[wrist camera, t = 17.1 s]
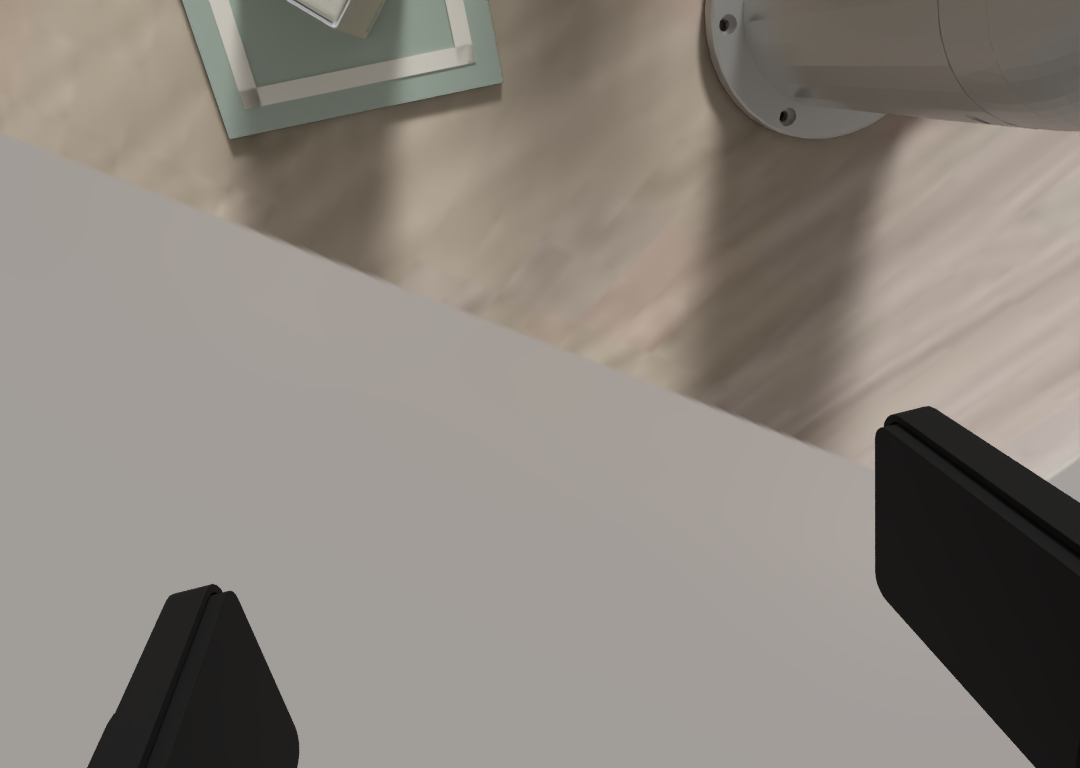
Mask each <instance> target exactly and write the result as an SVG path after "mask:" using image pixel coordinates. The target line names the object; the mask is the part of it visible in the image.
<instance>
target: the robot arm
mask: <svg viewBox="0 0 1080 768" xmlns="http://www.w3.org/2000/svg"><path fill="white" fill-rule="evenodd" d="M721 20H723V21H725V24H726V25H725V29H724V30H723V31H721V30H720V28H719V24H720V21H721ZM705 24H706V38H707V42H708V47H709V51H710V56H711V61H712V63H713V65H714V68H715V70H716V73H717V75H718V77H719V80H720V82H721V84H722V86H723V87H724V89H725V90H726V92H727V93H728V94H729V96H730V97H731V99H732V100H733V102H734V103H735V104H736V105H737V106H738V107H739V108H740V109H741V110H742V111H743V112H744V113H745V114H746V115H747V116H748V117H749V118H751V119H752V120H754V121H756V122H757V123H759V124H761V125H762V126H764V127H765V128H767V129H769V130H772V131H775V132H778V133H781V134H784V135H787V136H793V137H799V138H804V139H828V138H833V137H838V136H842V135H847V134H851V133H853V132H855V131H857V130H860V129H862V128H864V127H867V126H869V125H871V124H873V123H874V122H876V121H877V120H879V119H880V118H882V117H883V116H885V115H886V114H891V115H901V116H911V117H921V118H931V119H940V120H950V121H960V122H970V123H980V124H990V125H1000V126H1010V127H1019V128H1029V129H1044V130H1055V131H1080V0H706V3H705ZM782 111H783V113H784V117H783V119H782V120H781V121H780V119H779V118H780V113H781V112H782ZM875 573H876V580H877V584H878V586H879V589H880V591H881V593H882V595H883V597H884V598H885V599H886V600H887V602H888V603H889V604H890V605H891V606H892V607H893V608H894V610H895V611H896V612H897V613H898V614H899V615H900V616H901V617H902V618H903V620H904V621H905V622H906V623H907V624H908V625H909V626H910V627H911V629H912V630H913V631H914V632H915V633H916V634H917V635H918V636H919V638H920V639H921V640H922V641H923V642H924V643H925V644H926V645H927V647H928V648H929V649H930V650H931V651H932V652H933V653H934V654H935V655H936V656H937V658H938V659H939V660H940V661H941V662H942V663H943V664H944V666H945V667H946V668H947V669H948V670H949V671H950V672H951V673H952V675H954V677H955V678H956V679H957V680H958V681H959V682H960V683H961V684H962V686H963V687H964V688H965V689H966V690H967V691H968V692H969V693H970V695H971V696H972V697H973V698H974V699H975V700H976V701H977V702H978V704H979V705H980V706H981V707H982V708H983V709H984V710H985V711H986V713H987V714H988V715H989V716H990V717H991V718H992V719H993V720H994V722H995V723H996V724H997V725H998V726H999V727H1000V728H1001V729H1002V730H1003V732H1004V733H1005V734H1006V735H1007V736H1008V737H1009V738H1010V739H1011V741H1012V742H1013V743H1014V744H1015V745H1016V746H1017V747H1018V748H1019V750H1020V751H1021V752H1022V753H1023V754H1024V755H1025V756H1026V757H1027V759H1028V760H1029V761H1030V762H1031V763H1032V764H1033V765H1034V766H1035V767H1036V768H1080V503H1079V502H1078V501H1076V500H1074V499H1073V498H1071V497H1070V496H1068V495H1067V494H1065V493H1064V492H1062V491H1061V490H1059V489H1058V488H1056V487H1055V486H1053V485H1051V484H1050V483H1049V482H1047V481H1045V480H1044V479H1042V478H1041V477H1039V476H1038V475H1036V474H1035V473H1033V472H1032V471H1030V470H1029V469H1027V468H1025V467H1024V466H1022V465H1021V464H1019V463H1018V462H1016V461H1015V460H1013V459H1012V458H1010V457H1009V456H1007V455H1006V454H1004V453H1002V452H1001V451H999V450H998V449H996V448H995V447H993V446H992V445H990V444H989V443H987V442H986V441H984V440H983V439H981V438H979V437H978V436H976V435H975V434H973V433H972V432H970V431H969V430H967V429H966V428H964V427H963V426H961V425H960V424H958V423H956V422H955V421H953V420H952V419H950V418H949V417H947V416H946V415H944V414H943V413H941V412H940V411H938V410H936V409H935V408H932V407H930V406H927V407H921V408H917V409H913V410H909V411H905V412H901V413H897V414H893V415H890V416H889V417H887V419H886V421H885V423H884V427H882V428H880V429H878V430H877V432H876V436H875ZM298 759H299V740H298V735H297V731H296V728H295V725H294V723H293V721H292V719H291V716H290V714H289V712H288V710H287V707H286V705H285V703H284V701H283V698H282V696H281V694H280V692H279V689H278V688H277V685H276V683H275V680H274V678H273V676H272V674H271V672H270V670H269V667H268V665H267V663H266V660H265V658H264V656H263V654H262V651H261V649H260V647H259V645H258V643H257V640H256V638H255V636H254V633H253V631H252V629H251V627H250V624H249V622H248V620H247V618H246V615H245V613H244V611H243V609H242V606H241V604H240V602H239V600H238V598H237V596H236V594H235V593H234V592H232V591H227V592H222V590H221V589H220V588H219V587H218V586H217V585H214V584H211V585H207V586H203V587H199V588H196V589H191V590H187V591H183V592H179V593H175V594H172V595H170V596H169V598H168V599H167V600H166V602H165V605H164V607H163V609H162V611H161V614H160V615H159V618H158V620H157V622H156V624H155V627H154V629H153V631H152V633H151V635H150V638H149V640H148V642H147V644H146V646H145V648H144V651H143V653H142V655H141V657H140V659H139V662H138V664H137V666H136V669H135V671H134V673H133V675H132V677H131V679H130V682H129V684H128V686H127V688H126V690H125V693H124V695H123V697H122V700H121V701H120V704H119V706H118V708H117V710H116V713H115V714H113V716H112V718H111V719H110V721H109V722H108V724H107V726H106V728H105V730H104V732H103V734H102V737H101V739H100V741H99V743H98V745H97V748H96V750H95V752H94V754H93V756H92V758H91V761H90V763H89V765H88V767H87V768H297V765H298Z"/></svg>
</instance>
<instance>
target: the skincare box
mask: <svg viewBox="0 0 1080 768" xmlns="http://www.w3.org/2000/svg"><path fill="white" fill-rule="evenodd" d="M286 1H287V2H289V3H291V4H292V5H294V6H296V7H297V8H299V9H301V10H302V11H304V12H306V13H307V14H309V15H311V16H312V17H314V18H316V19H317V20H319V21H321V22H322V23H324V24H326V25H327V26H329V27H330V28H332V29H335V30H337V31H340V32H343V33H345V34H348V35H351V36H353V37H356V38H359V39H362V40H365V39H366V38H367V36H368V34H369V32H370V30H371V28H372V26H373V25H374V23H375V21H376V19H377V17H378V15H379V13H380V11H381V9H382V7H383V5H384V3H385V1H386V0H286Z"/></svg>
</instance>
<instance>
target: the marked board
mask: <svg viewBox="0 0 1080 768" xmlns="http://www.w3.org/2000/svg"><path fill="white" fill-rule="evenodd" d="M182 2H183V4H184V7H185V10H186V13H187V16H188V19H189V22H190V25H191V28H192V31H193V34H194V37H195V40H196V43H197V45H198V48H199V51H200V54H201V57H202V60H203V63H204V66H205V69H206V72H207V75H208V78H209V81H210V83H211V86H212V89H213V92H214V95H215V98H216V101H217V104H218V107H219V110H220V113H221V116H222V119H223V121H224V124H225V127H226V130H227V133H228V136H229V139H233V138H238V137H243V136H248V135H253V134H257V133H262V132H267V131H272V130H277V129H281V128H286V127H291V126H296V125H301V124H306V123H310V122H315V121H320V120H325V119H330V118H334V117H339V116H344V115H349V114H354V113H358V112H363V111H368V110H373V109H378V108H383V107H387V106H392V105H397V104H402V103H407V102H411V101H416V100H421V99H426V98H431V97H435V96H440V95H445V94H450V93H455V92H460V91H464V90H469V89H474V88H479V87H484V86H488V85H493V84H498V83H503V78H502V73H501V67H500V62H499V57H498V52H497V47H496V41H495V36H494V31H493V26H492V20H491V15H490V10H489V5H488V0H386V1H385V3H384V5H383V7H382V9H381V11H380V13H379V15H378V17H377V19H376V21H375V23H374V25H373V26H372V28H371V30H370V32H369V34H368V36H367V38H366V39H365V40H362V39H359V38H356V37H353V36H351V35H348V34H345V33H343V32H340V31H337V30H335V29H332V28H330V27H329V26H327V25H326V24H324V23H322V22H321V21H319V20H317V19H316V18H314V17H312V16H311V15H309V14H307V13H306V12H304V11H302V10H301V9H299V8H297V7H296V6H294V5H292V4H291V3H289V2H287V1H286V0H182Z"/></svg>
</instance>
